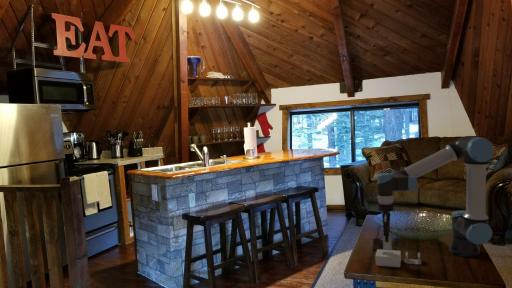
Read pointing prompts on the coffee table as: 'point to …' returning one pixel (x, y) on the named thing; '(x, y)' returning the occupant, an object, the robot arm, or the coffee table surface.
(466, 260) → the coffee table surface
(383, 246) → the plug
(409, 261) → the holster
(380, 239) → the electronic device
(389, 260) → the panel
